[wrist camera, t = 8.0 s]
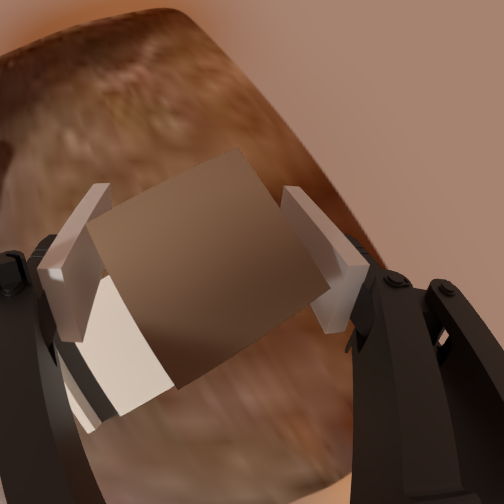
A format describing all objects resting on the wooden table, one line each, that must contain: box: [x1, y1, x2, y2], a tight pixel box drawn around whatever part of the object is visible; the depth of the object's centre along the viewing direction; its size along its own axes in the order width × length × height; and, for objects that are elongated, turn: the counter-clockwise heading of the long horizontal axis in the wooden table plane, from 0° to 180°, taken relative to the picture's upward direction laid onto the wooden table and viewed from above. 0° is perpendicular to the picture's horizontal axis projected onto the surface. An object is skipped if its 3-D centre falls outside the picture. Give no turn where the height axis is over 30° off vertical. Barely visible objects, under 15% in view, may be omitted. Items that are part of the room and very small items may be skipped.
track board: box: [53, 275, 175, 433], centre depth 17 cm, size 7×12×2 cm, turn 123°
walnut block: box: [85, 147, 331, 390], centre depth 12 cm, size 4×4×10 cm
